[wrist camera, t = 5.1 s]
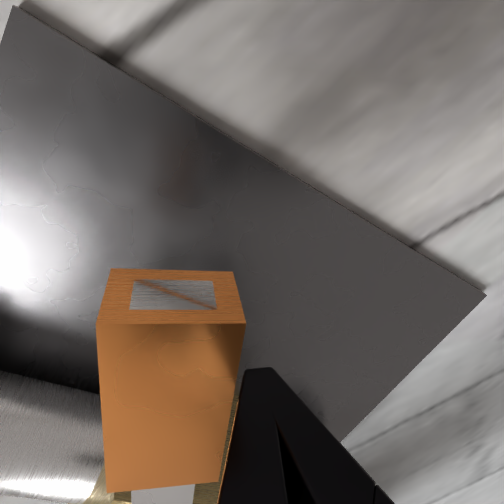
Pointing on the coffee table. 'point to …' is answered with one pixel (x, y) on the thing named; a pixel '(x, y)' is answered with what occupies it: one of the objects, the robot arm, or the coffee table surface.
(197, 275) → the valve lever
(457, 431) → the coffee table surface
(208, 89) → the coffee table surface
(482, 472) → the coffee table surface
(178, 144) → the pipe on metal plate
